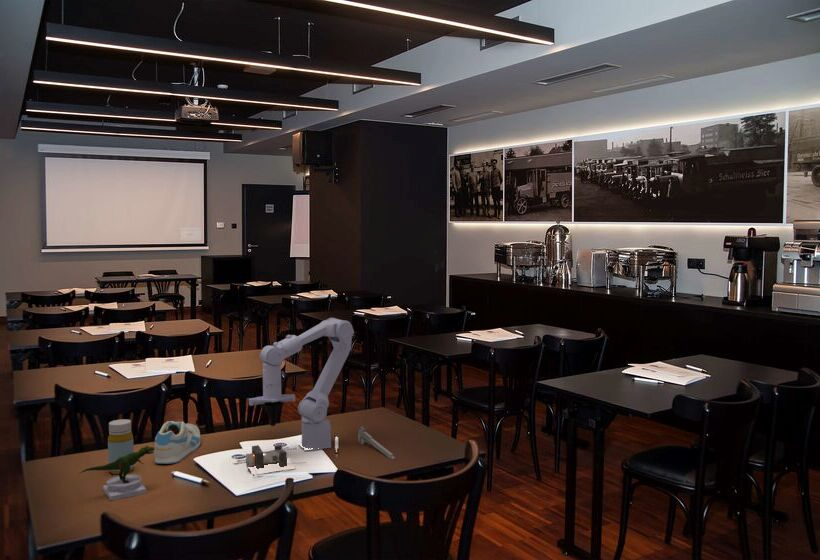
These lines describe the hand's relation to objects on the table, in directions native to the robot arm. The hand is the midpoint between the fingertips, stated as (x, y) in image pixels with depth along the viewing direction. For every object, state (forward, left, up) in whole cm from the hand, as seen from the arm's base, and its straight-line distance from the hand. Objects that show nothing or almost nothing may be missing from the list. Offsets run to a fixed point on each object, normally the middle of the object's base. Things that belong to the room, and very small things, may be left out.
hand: (272, 425), depth 218 cm
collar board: (+3, +11, -10) cm, 15 cm away
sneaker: (+28, -16, -10) cm, 34 cm away
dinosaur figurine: (+46, +14, -10) cm, 49 cm away
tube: (+5, +11, -9) cm, 15 cm away
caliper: (-32, +9, -10) cm, 35 cm away
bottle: (+45, -4, -10) cm, 46 cm away
